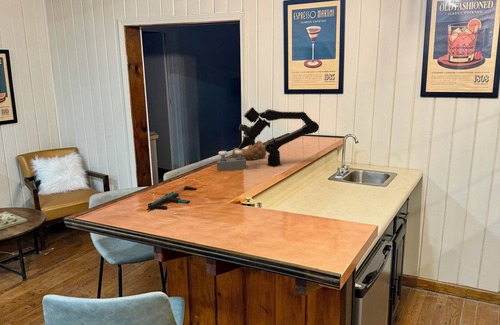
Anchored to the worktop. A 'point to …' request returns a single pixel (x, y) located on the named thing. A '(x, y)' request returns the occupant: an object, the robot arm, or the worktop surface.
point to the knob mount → (231, 164)
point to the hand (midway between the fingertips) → (239, 149)
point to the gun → (169, 199)
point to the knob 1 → (223, 155)
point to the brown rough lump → (252, 151)
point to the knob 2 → (238, 153)
